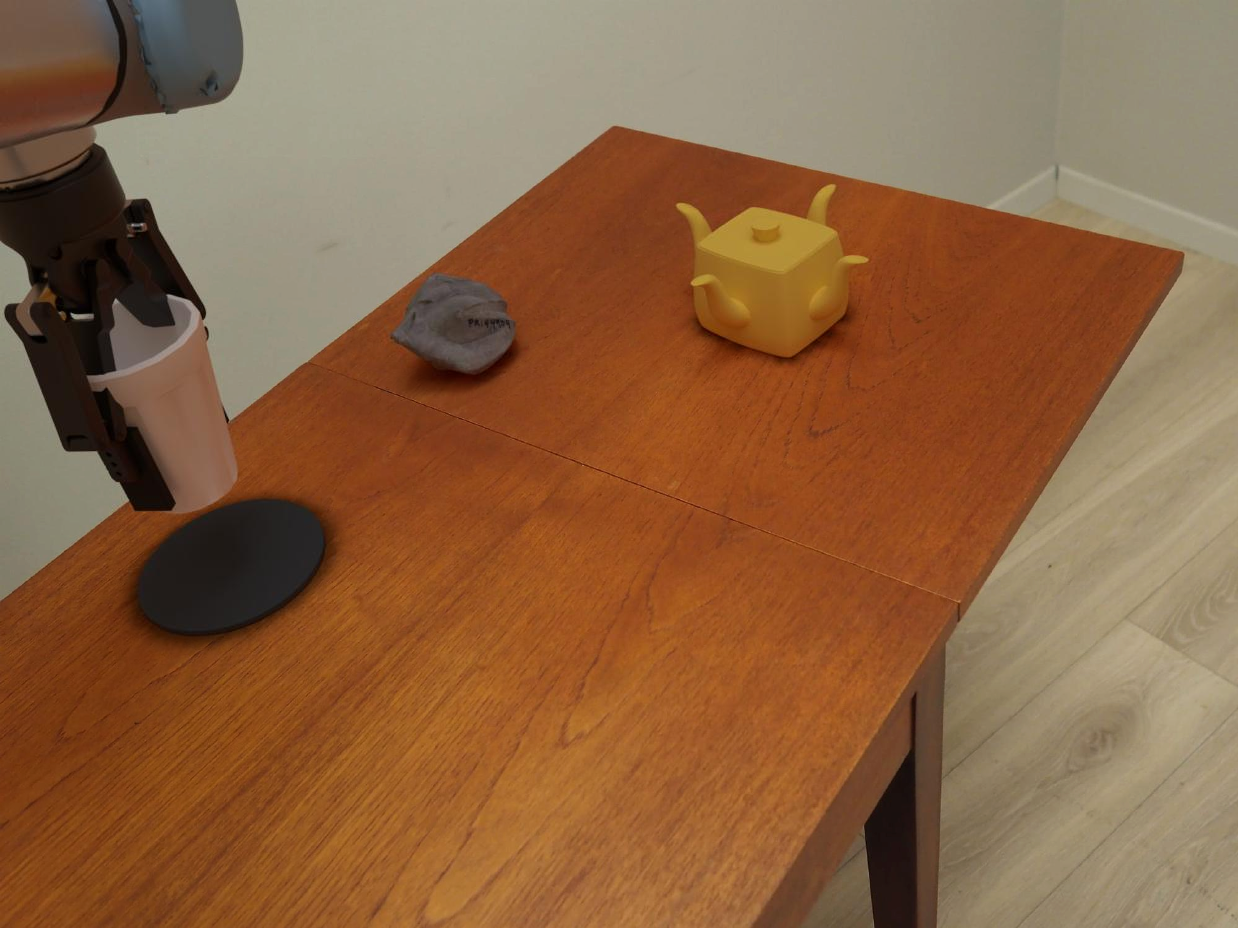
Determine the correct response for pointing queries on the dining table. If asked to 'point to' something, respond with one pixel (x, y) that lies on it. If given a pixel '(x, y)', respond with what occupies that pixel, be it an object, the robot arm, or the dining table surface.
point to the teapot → (770, 276)
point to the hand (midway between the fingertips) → (184, 463)
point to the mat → (231, 567)
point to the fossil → (456, 324)
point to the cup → (173, 402)
